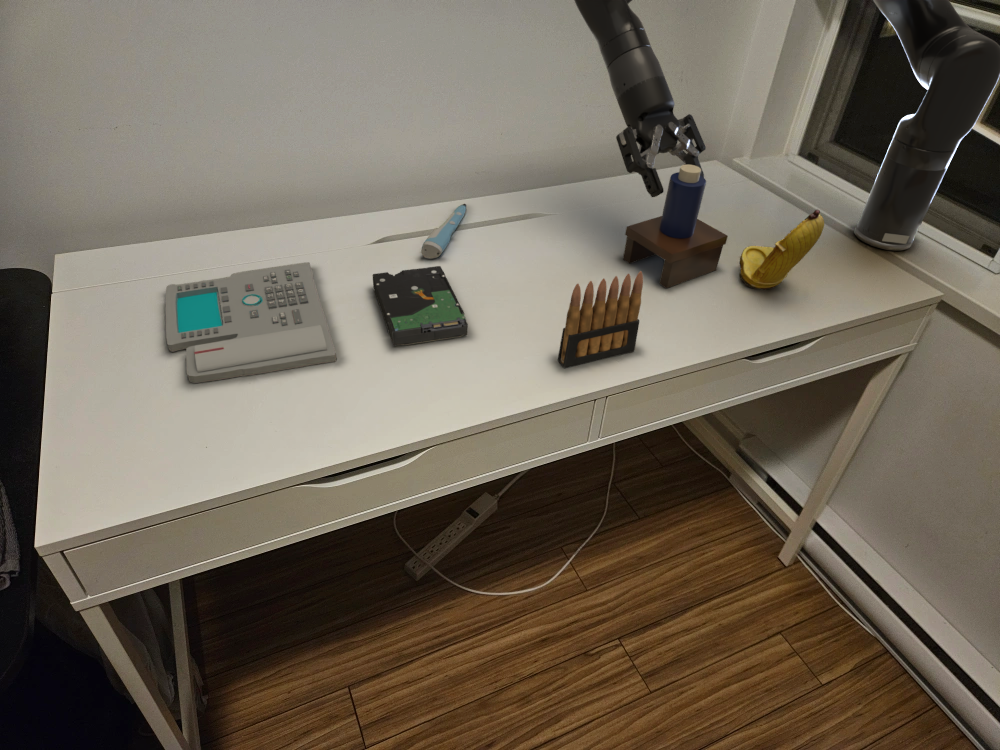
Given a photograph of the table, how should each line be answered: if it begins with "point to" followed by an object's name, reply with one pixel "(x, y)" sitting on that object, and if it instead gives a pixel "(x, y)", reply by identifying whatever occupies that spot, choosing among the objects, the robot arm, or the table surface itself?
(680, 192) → the bottle
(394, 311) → the disk drive
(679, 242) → the brown wooden stand
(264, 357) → the office telephone
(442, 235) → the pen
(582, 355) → the ammunition clip
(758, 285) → the shrine
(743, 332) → the table surface
